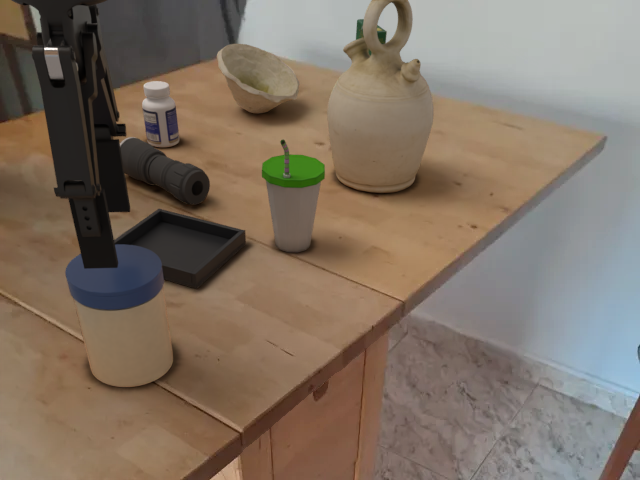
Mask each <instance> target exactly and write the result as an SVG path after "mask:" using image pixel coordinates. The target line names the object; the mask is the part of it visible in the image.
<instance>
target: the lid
mask: <svg viewBox="0 0 640 480" xmlns="http://www.w3.org/2000/svg"><path fill="white" fill-rule="evenodd" d="M115 248H116V253H117V258H118V267H117V268H90V269H84V265H83V261H82V256H81V253H79V254H78V255H76V256H74V257H73V258H72V259H71V260H70V261H69V263H68V264H67V265H66V267H65V271H64V273H65V278H66V283H67V287H68V290H69V293H70V296H71V297H72V299H73V298H74V299H75V300H76V301H77V302H79V303H80V304H82V305H85V306H88V307H91V308H96V309H104V310H114V309H124V308H129V307H133V306H137V305H139V304H142V303H144V302H147V301H148V300H150V299H152V298H153V297H155V296H156V295H157V294H158V293H159V292H160V291H161V289H162V287H164V283H165V280H164V276H163V269H162V263H161V260H160V258H159V257H158V256H157V255H156V254H155V253H154V252H152V251H151V250H148V249H146V248H143V247H139V246H134V245H125V244H118V245H115Z"/></svg>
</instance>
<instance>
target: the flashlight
mask: <svg viewBox="0 0 640 480" xmlns="http://www.w3.org/2000/svg"><path fill="white" fill-rule="evenodd" d="M119 143H120V149H121V155H122V161H123V167H124V173H125V175H127V176H129V177H130V178H132V179H135V180H136V181H141V182H144V183H145V184H147V185H151V186H157V187H160V188H162V189H164V190H165V191H166V192H168V193H169V194H171V195H172V196H173V197H174V198H175V199H176V200H178V201H180V202H182V203H184V204H187V205H190V206H191V205H199V204H201V203H202V202H204V201H205V199H206V198H207V196H208V194H209V192H210V188H211V183H210V182H211V181H210V178H209V176H208V174H207V173H206V172H205V171H204V169H202V168H200V167H199V166H196V165H194V164H192V163H189V162H187V163H184V162H182V161H180V160H176V159H173V158H171V157H168V156H167V155H166V153H165V152H164V151H162V150H160V149H157V147H154V146H152V145H151V144H149V143H148V142H147V141H144V140H142V139H140V138H138V137H135V136H128V137H126V138H124V139H123V140H121V141H120V142H119Z"/></svg>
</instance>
